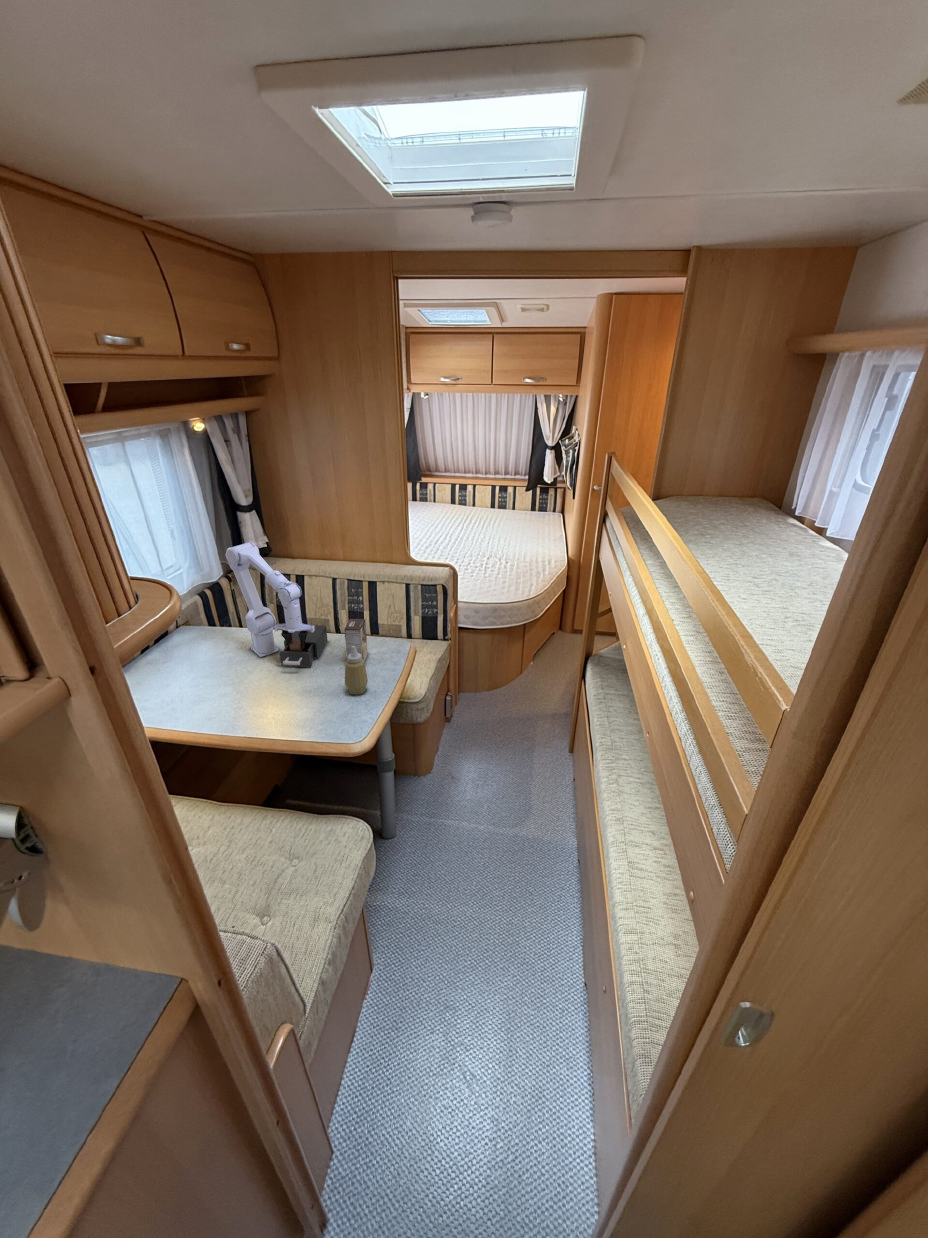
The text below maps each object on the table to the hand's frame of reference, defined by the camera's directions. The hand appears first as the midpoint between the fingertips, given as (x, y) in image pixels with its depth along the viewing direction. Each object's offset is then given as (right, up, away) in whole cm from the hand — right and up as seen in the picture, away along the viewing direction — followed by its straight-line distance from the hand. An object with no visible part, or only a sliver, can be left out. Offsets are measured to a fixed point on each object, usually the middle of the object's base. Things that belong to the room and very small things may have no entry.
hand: (297, 647), depth 189 cm
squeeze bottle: (+26, -15, -12) cm, 32 cm away
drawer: (0, -5, +4) cm, 6 cm away
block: (0, -1, +1) cm, 1 cm away
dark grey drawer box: (0, -2, +13) cm, 13 cm away
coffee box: (+22, -5, +7) cm, 24 cm away
